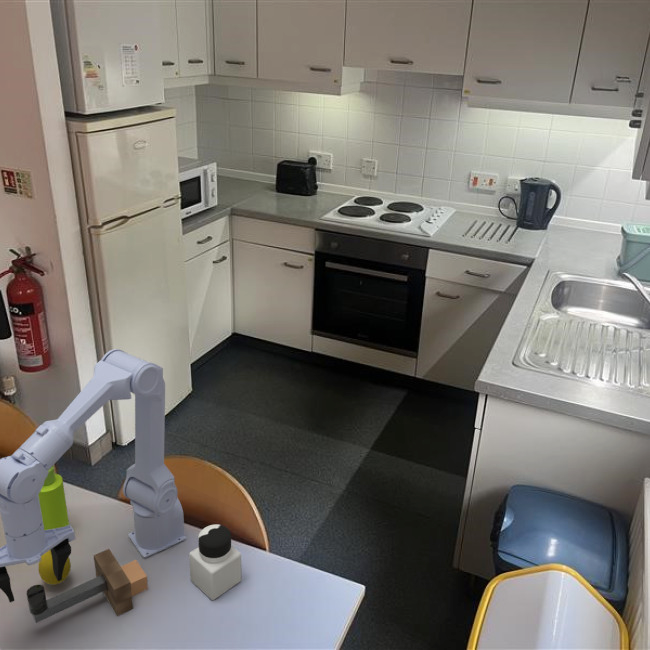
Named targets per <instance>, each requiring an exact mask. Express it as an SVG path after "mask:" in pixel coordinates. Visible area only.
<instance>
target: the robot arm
mask: <svg viewBox="0 0 650 650" xmlns="http://www.w3.org/2000/svg"><path fill="white" fill-rule="evenodd" d="M163 377H164V368H163V367H162V366H160V365H159V364H157V363H154V362H151V361H147V360H145V359H142V358H140V357H137V356H135V355H133V354H129V353H128V352H125V351H124V350H122V349H118V348H114V349H110V350H108V351H107V352H106V353H105V354H104V355H103V356H102V357H101V359H100V360H99V361H98V362H96V364H94V367H93V376H92V378H91V379H90V380H89V381H88V382H87V383H86V385H85V386H84V387H83V388H82V390H81V391H80V392H79V393H78V394H77V395H76V397H75V398H74V399H73V400H72V401H71V402H70V403H69V405H68V406H67V407H66V409H65V410H64V411H63V412H62V413H61V414H60V416H58V418H57V419H52V420H46V421H44V422H43V423H42V424H40V425H39V426H38V427H37V428H36V429H35V431H34V432H33V433H32V434H31V435H30V436H29V437H28V438H27V439H26V440H25V442H24V441H23V443H22V444H21V445H20V447H18V448H17V449H16V450H15V451H14V452H13V454H11V455H9V456H5V457H2V458H0V517H1V522H2V523H1V524H2V529H3V532H4V538H5V543H6V544H5V545H3V546H1V547H0V590H1V591H2V592H3V593H4V594H5V595H6V598H7V599H8V602H9V603H12V602H14V601H15V597H14V593H13V590H12V586H11V585H12V584H11V577H10V575H9V573H8V570H7V567H9V566H15V565H19V564H25V563H26V565H27V566H33V565H35V564H37V563H38V564H39V562H40V561H41V556H42V555H43V554H45V553H46V552H48V551H49V550H51V555H52V563H53V571H54V575H55V577H56V578H57V580H58V581H60V580H62V574H63V569H64V566H65V563H66V561H67V559H68V557H69V558H70V556H71V554H72V546H71V544H70V543H69V542H73V541H76V535H75V533H76V532H75V530H74V528H73V526H72V525H71V524H69V525H68V526H65V527H61V528H55V529H49V530H44V525H43V519H42V513H41V508H40V502H39V495H38V494H39V493H40V491H41V489H42V487H43V484H44V481H45V479H46V477H47V476H48V473H49V472H48V470H49V469H50V468H51V467H52V466H54V465H55V464H56V463H57V462H58V461H59V460H60V459H61V457H63V455H64V454H65V453H67V451H68V450H69V449H70V448H71V447H72V446H73V444H74V434H75V432H76V431H77V430H79V428H81V426H83V424H85V423H86V422H87V421H88V420H89V419H90V418H92V416H93V415H95V414H96V413H97V412H98V411H99V410H100V409H102V407H103V406H105V404H107V402H109V401H123V400H124V401H125V400H131V399H132V394H133V395H134V421H135V422H134V434H135V435H134V445H135V446H134V449H135V451H134V464H132V465H130V466H129V467H128V468H127V469H126V477H125V480H124V483H123V487H122V493H123V496H124V497H125V498H127V499H128V500H130V505H131V506H132V513H133V523H134V531H131V532H129V533H128V535H127V536H128V538H129V540H130V541H131V542H132V543H133V545H134V546H135V548H136V550H137V551H138V552H139V554H140V556H141V557H142V558H143V559H146V558H148V557H151V556H153V555H155V554H157V553H160V552H162V551H164V550H166V549H168V548H171V547H173V546H175V545H177V544H179V543H181V542H183V541H186V539H187V537H186V535H185V524H184V523H185V520H184V511H183V507H182V504H181V502H180V500H179V498H178V493H179V492H178V487H177V486H176V484H175V476H174V474H173V472H171V471H170V469H169V468H168V467H167V465H166V463H165V425H166V424H165V422H166V421H165V420H166V382H165V379H164V378H163Z"/></svg>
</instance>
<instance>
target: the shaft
mask: <svg viewBox="0 0 650 650" xmlns="http://www.w3.org/2000/svg"><path fill="white" fill-rule="evenodd" d="M45 590H46V589H45V586H44V585H42V584H35V585H32V586H30V587H29V588H28V589H27V591H26V599H27V604H28V609H29V613H30V614H31V615H32V618H33V620H34V622H35V624H37V623H40V622H41V621H44V620H46V619H48V618H50V617H52V616H54V615H56V614H59V613H61V612H63V611H65V610H68V609H69V608H72V607H74V606H77V604H81V603H83V602H85V601H86V600H89V599H90V598H93V597H96V596H98V595H99V594H102V593H103V592H104V591H106V590H108V587H107V581H106V579H105V578H104V576H103V575H101V576H98V577H94V578H93V579H92V578H91V579H90V580H88V581H85V582H83V583H81V584H78V585H77V586H75V587H71V588H70V589H67V590H65V591H63V592H61V593H58V594H57V595H55V596H52V597H49V598H48V599H47V596H46V591H45Z"/></svg>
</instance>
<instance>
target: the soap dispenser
mask: <svg viewBox="0 0 650 650" xmlns="http://www.w3.org/2000/svg"><path fill="white" fill-rule="evenodd" d="M48 472H49V473H48V476H47V477H46V479H45V481H44V484H43V487H42V489H41V491H40V493H39V494H38V495H39V502H40V508H41V513H42V519H43V525H44V530H49V529H55V528H61V527H65V526H68V525H70V522H69V521H70V520H69V515H68V508H67V501H66V494H65V493H66V492H65V487H64V480H63V477H62V475H60V474H58V473H56V472H55V466H54V465H53V466H52V467H51V468H50V469H49V470H48Z"/></svg>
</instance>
